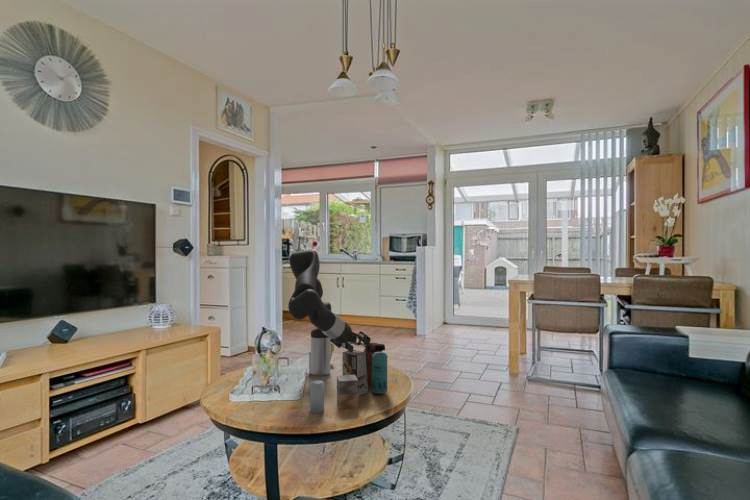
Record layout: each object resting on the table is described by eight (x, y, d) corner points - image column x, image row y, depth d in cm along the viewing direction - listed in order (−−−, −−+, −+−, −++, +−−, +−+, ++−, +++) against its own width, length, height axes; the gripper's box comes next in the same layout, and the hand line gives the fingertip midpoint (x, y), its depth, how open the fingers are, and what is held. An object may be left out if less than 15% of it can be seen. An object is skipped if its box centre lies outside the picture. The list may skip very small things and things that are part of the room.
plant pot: (335, 361, 216) (335, 342, 216) (332, 366, 206) (332, 346, 206) (315, 360, 217) (316, 341, 217) (311, 365, 207) (311, 346, 207)
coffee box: (368, 392, 167) (368, 352, 168) (357, 396, 163) (357, 355, 163) (352, 387, 174) (352, 349, 174) (341, 391, 169) (341, 351, 169)
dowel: (307, 411, 147) (307, 383, 147) (316, 407, 151) (316, 379, 151) (317, 414, 144) (317, 385, 144) (327, 410, 148) (327, 382, 149)
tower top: (338, 395, 150) (339, 381, 150) (336, 388, 157) (336, 375, 157) (357, 393, 151) (358, 380, 151) (354, 387, 158) (355, 374, 158)
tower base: (339, 408, 150) (339, 395, 150) (336, 402, 157) (337, 388, 157) (358, 407, 151) (358, 393, 151) (355, 400, 158) (355, 387, 158)
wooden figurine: (388, 386, 175) (388, 343, 175) (376, 389, 171) (376, 346, 171) (370, 379, 184) (370, 339, 184) (359, 382, 180) (359, 341, 180)
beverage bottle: (371, 391, 169) (371, 342, 169) (387, 391, 168) (388, 342, 169) (370, 397, 162) (371, 346, 162) (387, 397, 162) (388, 346, 162)
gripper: (354, 316, 140) (379, 338, 150) (322, 320, 148) (348, 341, 158) (349, 336, 136) (375, 357, 146) (316, 339, 144) (343, 359, 153)
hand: (361, 348), depth 152 cm, fingers open, 8 cm apart
